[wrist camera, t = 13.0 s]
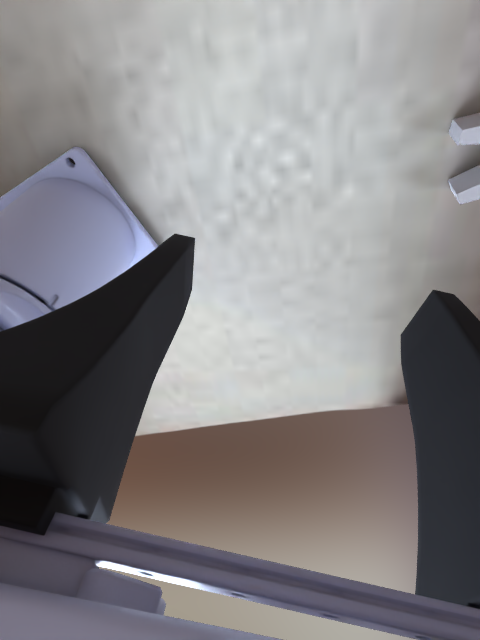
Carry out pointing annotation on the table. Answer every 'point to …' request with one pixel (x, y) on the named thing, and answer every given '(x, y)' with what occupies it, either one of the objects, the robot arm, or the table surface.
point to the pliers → (475, 180)
